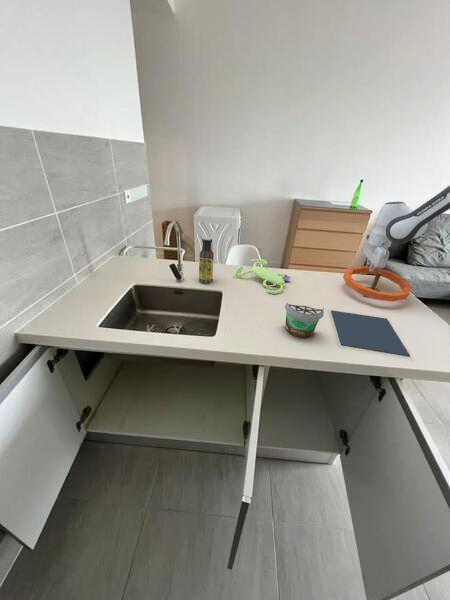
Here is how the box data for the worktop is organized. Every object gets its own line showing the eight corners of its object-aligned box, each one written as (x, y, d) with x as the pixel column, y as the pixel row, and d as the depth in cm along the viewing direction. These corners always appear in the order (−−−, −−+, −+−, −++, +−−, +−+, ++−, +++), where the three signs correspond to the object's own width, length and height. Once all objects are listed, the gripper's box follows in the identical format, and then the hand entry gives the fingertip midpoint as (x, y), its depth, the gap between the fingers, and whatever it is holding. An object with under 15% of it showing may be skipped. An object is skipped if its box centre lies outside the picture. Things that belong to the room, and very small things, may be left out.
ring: (395, 274, 114) (398, 269, 112) (419, 305, 93) (422, 299, 92) (339, 268, 117) (341, 263, 116) (350, 295, 97) (352, 290, 96)
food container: (279, 336, 79) (285, 311, 74) (280, 325, 84) (285, 301, 79) (319, 343, 77) (327, 318, 72) (317, 332, 82) (325, 307, 77)
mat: (386, 319, 91) (386, 318, 91) (409, 356, 74) (410, 355, 74) (330, 311, 94) (331, 310, 94) (341, 345, 77) (341, 344, 77)
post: (377, 290, 110) (386, 270, 105) (383, 299, 104) (393, 278, 98) (358, 288, 112) (366, 267, 106) (363, 296, 105) (372, 275, 100)
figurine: (255, 265, 128) (257, 255, 125) (299, 284, 112) (301, 273, 109) (230, 274, 117) (231, 263, 115) (274, 296, 101) (276, 284, 98)
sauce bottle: (197, 283, 108) (196, 239, 98) (201, 277, 113) (201, 235, 103) (211, 285, 107) (212, 241, 97) (214, 279, 112) (215, 236, 102)
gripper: (397, 249, 97) (384, 279, 104) (380, 234, 114) (369, 262, 122) (380, 247, 98) (368, 278, 105) (365, 233, 115) (356, 260, 123)
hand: (369, 269), depth 114 cm, fingers closed on ring, 2 cm apart
